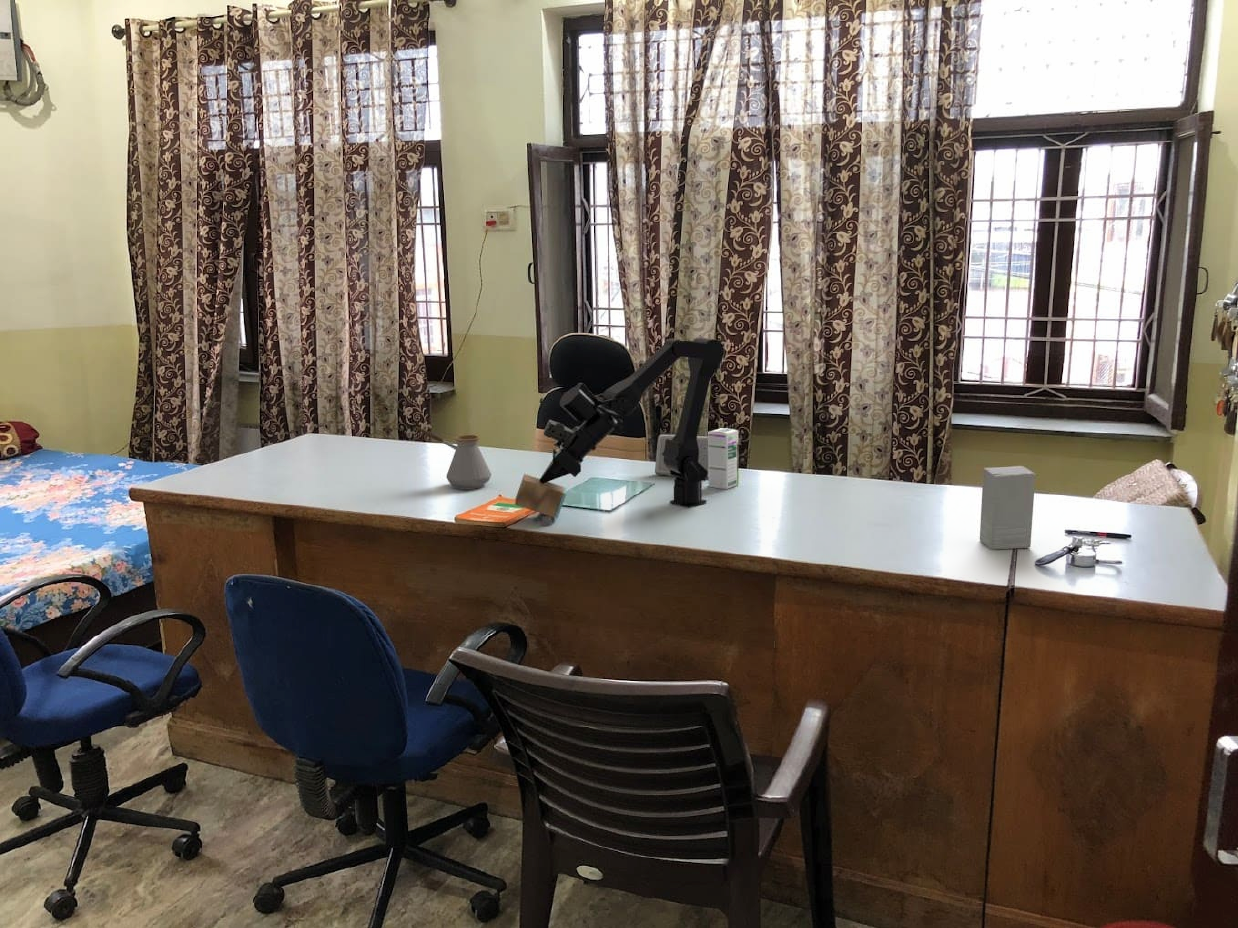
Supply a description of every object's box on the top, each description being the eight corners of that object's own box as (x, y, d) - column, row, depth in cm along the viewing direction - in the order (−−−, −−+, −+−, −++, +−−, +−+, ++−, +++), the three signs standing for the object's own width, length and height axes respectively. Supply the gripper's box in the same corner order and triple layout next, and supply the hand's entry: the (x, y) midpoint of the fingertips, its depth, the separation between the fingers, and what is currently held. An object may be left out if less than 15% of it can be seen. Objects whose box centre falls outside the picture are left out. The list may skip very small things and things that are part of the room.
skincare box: (1017, 539, 201) (1022, 464, 198) (1032, 550, 194) (1038, 472, 191) (976, 540, 201) (981, 465, 197) (990, 551, 194) (995, 473, 190)
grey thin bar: (550, 511, 229) (550, 506, 228) (551, 525, 217) (551, 520, 217) (542, 511, 228) (542, 506, 228) (542, 525, 217) (542, 520, 216)
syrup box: (727, 489, 246) (727, 432, 243) (707, 486, 249) (707, 430, 246) (738, 485, 250) (739, 429, 247) (719, 482, 254) (719, 427, 251)
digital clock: (651, 475, 263) (651, 436, 261) (667, 468, 270) (667, 431, 268) (705, 482, 255) (706, 441, 252) (720, 475, 262) (721, 436, 260)
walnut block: (565, 487, 224) (524, 473, 223) (566, 494, 219) (523, 479, 217) (557, 511, 226) (515, 497, 224) (557, 518, 220) (514, 504, 218)
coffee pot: (499, 482, 257) (497, 426, 254) (478, 493, 247) (475, 434, 244) (429, 477, 265) (426, 422, 262) (405, 486, 254) (401, 430, 251)
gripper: (564, 402, 227) (516, 449, 228) (565, 414, 208) (513, 465, 210) (597, 436, 229) (550, 482, 230) (602, 451, 211) (550, 501, 212)
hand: (540, 481), depth 220 cm, fingers closed, pressing on walnut block
